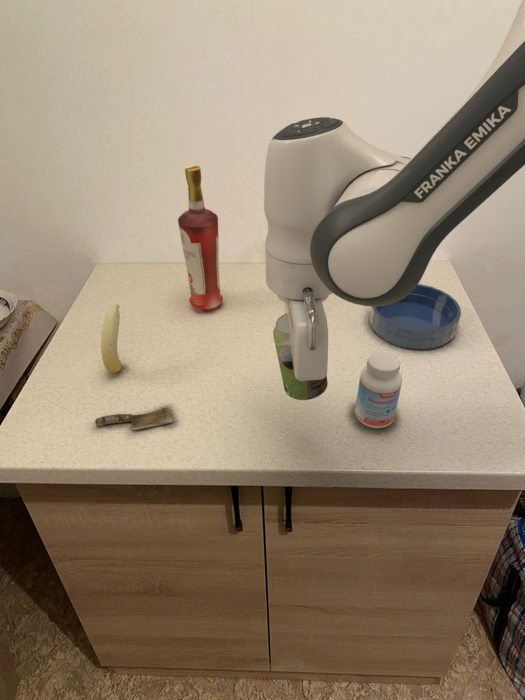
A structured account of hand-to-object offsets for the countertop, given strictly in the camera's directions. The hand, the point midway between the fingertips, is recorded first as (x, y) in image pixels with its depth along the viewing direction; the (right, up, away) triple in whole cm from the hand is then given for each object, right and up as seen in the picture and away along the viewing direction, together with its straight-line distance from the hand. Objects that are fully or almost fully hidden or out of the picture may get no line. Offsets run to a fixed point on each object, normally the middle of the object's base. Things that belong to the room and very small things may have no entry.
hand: (301, 359), depth 67 cm
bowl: (+24, +6, +30) cm, 39 cm away
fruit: (-30, -2, +21) cm, 37 cm away
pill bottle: (+12, -9, +11) cm, 19 cm away
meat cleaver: (-25, -10, +11) cm, 29 cm away
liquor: (-17, +11, +37) cm, 42 cm away
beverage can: (0, -4, +3) cm, 5 cm away
